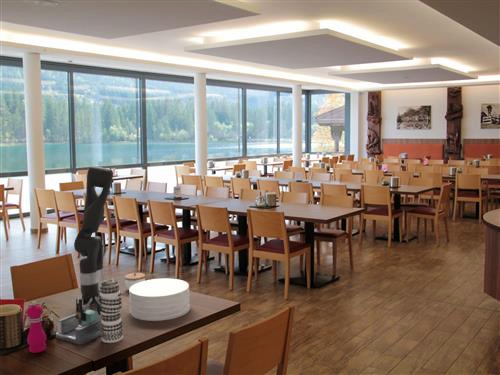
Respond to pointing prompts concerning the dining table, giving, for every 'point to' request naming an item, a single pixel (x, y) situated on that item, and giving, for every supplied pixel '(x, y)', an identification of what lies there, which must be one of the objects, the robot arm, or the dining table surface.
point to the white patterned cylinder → (110, 311)
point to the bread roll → (79, 316)
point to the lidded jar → (134, 279)
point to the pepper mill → (36, 329)
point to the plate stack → (159, 299)
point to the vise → (82, 333)
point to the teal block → (90, 316)
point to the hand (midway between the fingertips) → (91, 317)
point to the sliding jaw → (67, 323)
